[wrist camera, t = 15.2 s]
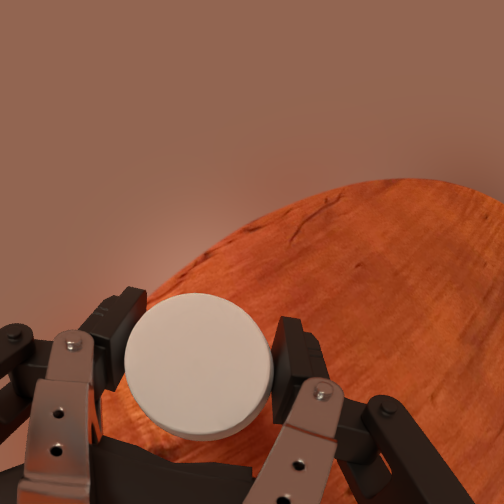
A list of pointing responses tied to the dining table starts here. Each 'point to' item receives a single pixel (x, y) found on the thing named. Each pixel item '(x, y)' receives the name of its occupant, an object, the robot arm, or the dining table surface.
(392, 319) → the dining table surface
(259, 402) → the pill bottle
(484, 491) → the dining table surface
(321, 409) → the robot arm
